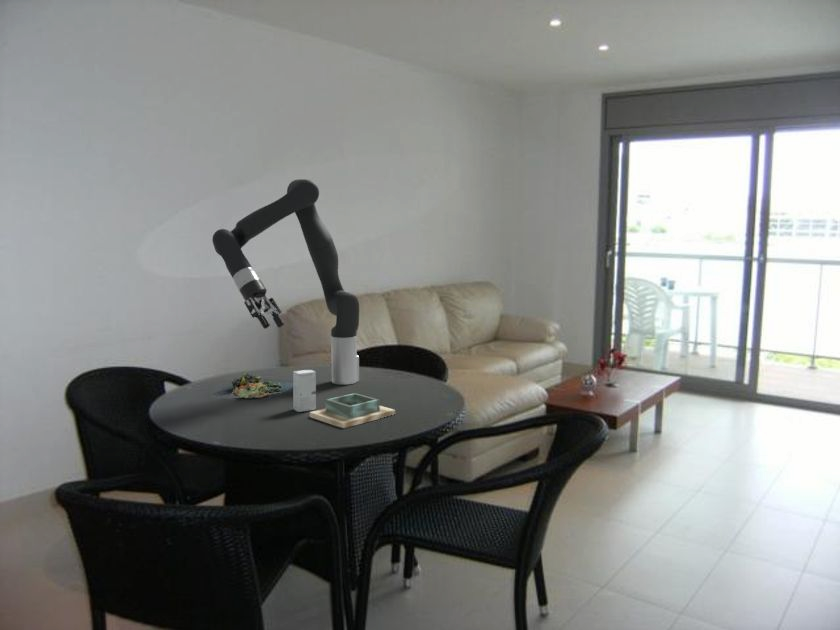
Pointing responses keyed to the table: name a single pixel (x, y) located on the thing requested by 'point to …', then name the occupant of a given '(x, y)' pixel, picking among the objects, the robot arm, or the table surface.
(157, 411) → the table surface
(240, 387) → the plated dish
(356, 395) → the socket board
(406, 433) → the table surface
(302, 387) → the skincare box
